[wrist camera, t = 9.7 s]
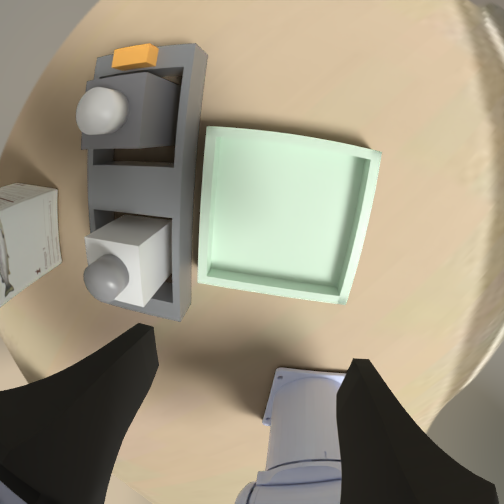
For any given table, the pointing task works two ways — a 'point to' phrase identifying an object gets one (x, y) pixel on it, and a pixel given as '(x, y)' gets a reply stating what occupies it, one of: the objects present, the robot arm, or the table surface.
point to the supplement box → (27, 236)
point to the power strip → (155, 169)
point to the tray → (284, 213)
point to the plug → (128, 112)
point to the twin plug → (128, 259)
